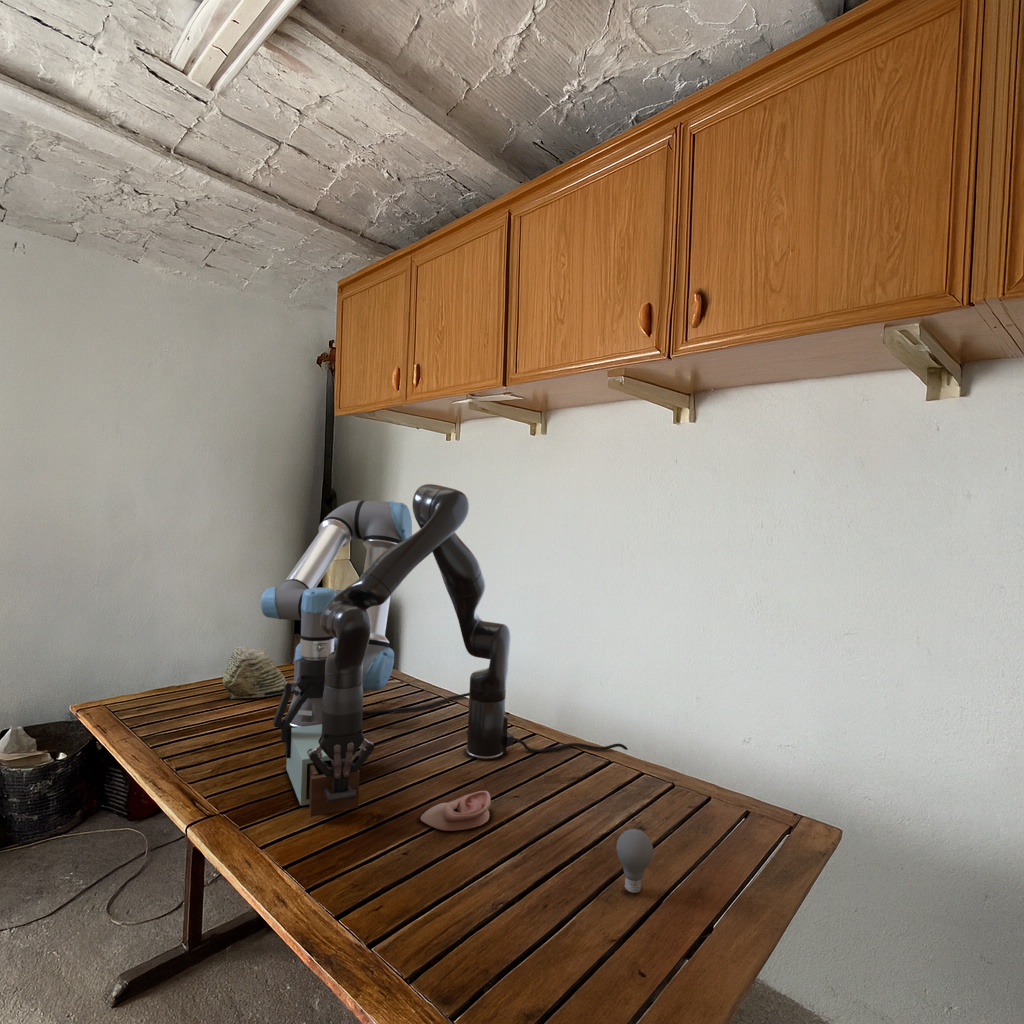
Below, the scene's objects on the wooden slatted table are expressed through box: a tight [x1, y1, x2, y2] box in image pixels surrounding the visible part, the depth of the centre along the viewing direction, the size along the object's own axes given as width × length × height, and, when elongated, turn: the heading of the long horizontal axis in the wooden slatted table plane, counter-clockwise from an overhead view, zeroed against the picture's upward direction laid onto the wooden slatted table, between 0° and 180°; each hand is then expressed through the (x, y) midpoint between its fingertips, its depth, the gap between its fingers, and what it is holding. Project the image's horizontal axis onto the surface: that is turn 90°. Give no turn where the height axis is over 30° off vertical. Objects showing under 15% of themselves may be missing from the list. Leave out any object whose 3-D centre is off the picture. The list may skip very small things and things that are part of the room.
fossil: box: [222, 646, 287, 699], centre depth 198 cm, size 9×18×15 cm, turn 132°
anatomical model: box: [419, 790, 492, 832], centre depth 127 cm, size 13×4×12 cm
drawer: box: [306, 760, 361, 818], centre depth 130 cm, size 23×9×8 cm, turn 28°
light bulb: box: [615, 828, 654, 894], centre depth 106 cm, size 6×6×10 cm
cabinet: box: [285, 724, 355, 806], centre depth 140 cm, size 19×10×10 cm, turn 28°
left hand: (313, 752), depth 145 cm, fingers closed on cabinet, 10 cm apart
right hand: (340, 794), depth 123 cm, fingers closed
